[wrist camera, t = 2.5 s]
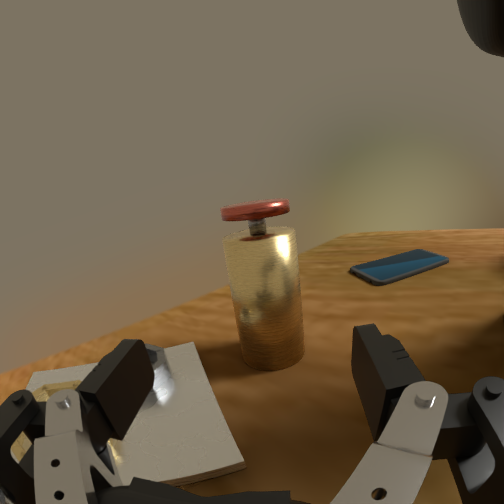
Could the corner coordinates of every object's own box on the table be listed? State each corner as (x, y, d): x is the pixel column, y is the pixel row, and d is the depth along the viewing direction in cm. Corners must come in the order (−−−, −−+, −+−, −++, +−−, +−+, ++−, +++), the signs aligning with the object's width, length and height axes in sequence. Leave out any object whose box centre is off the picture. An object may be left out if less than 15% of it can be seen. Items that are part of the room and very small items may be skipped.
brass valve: (287, 329, 26) (272, 197, 23) (316, 356, 21) (305, 198, 18) (234, 346, 24) (210, 208, 21) (256, 378, 20) (229, 211, 17)
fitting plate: (195, 348, 25) (189, 327, 24) (246, 467, 12) (239, 445, 11) (37, 378, 19) (27, 359, 19) (0, 486, 6) (-22, 464, 6)
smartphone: (347, 273, 39) (347, 266, 39) (419, 253, 42) (419, 247, 42) (378, 289, 32) (378, 282, 31) (451, 263, 35) (452, 257, 34)
